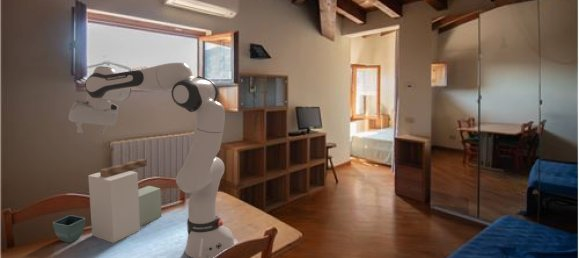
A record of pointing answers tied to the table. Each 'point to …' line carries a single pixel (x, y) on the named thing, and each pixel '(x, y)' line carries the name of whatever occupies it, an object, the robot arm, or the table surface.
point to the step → (149, 204)
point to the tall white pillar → (114, 205)
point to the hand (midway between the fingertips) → (90, 133)
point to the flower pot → (69, 228)
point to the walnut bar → (123, 167)
